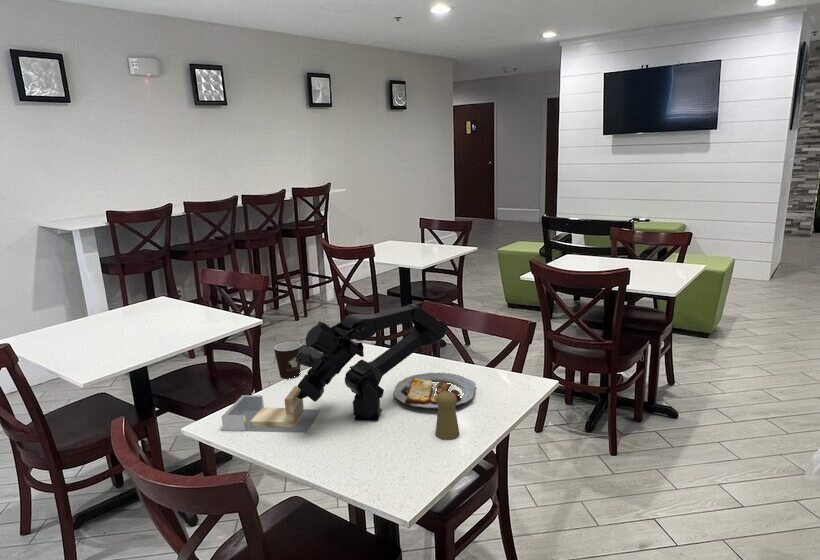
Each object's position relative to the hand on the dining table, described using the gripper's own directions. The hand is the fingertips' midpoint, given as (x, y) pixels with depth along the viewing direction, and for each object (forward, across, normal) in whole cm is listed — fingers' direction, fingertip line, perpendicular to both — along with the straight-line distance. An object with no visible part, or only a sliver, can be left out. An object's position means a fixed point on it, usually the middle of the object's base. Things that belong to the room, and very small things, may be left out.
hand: (298, 397), depth 146 cm
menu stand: (+9, 0, 0) cm, 9 cm away
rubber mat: (+11, 0, -1) cm, 11 cm away
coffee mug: (+14, -32, -3) cm, 35 cm away
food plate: (-19, -18, +30) cm, 40 cm away
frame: (+16, 0, -6) cm, 17 cm away
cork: (-23, +5, +33) cm, 40 cm away
